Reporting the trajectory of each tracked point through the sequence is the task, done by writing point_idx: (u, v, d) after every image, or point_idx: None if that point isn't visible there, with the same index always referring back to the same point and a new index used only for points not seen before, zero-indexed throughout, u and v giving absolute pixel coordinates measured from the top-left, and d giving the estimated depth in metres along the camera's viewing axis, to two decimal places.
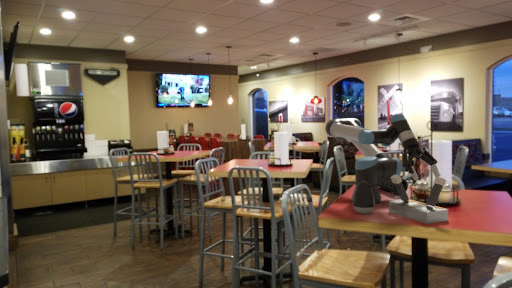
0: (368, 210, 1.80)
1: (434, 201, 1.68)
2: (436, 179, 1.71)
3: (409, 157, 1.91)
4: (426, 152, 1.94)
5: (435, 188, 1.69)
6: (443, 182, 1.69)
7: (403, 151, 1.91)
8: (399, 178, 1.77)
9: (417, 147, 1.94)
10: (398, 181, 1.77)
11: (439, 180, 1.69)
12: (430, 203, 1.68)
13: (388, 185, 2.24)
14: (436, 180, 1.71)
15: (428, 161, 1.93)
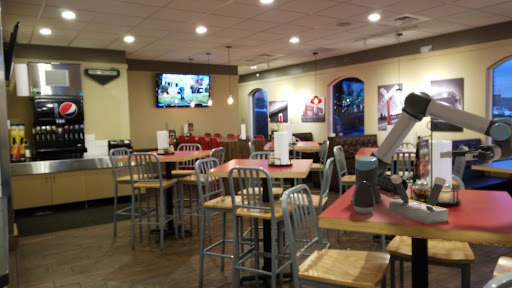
0: (368, 210, 1.80)
1: (434, 201, 1.68)
2: (436, 179, 1.71)
3: None
4: None
5: (435, 188, 1.69)
6: (443, 182, 1.69)
7: (491, 155, 1.72)
8: (399, 178, 1.77)
9: None
10: (398, 181, 1.77)
11: (439, 180, 1.69)
12: (430, 203, 1.68)
13: (388, 185, 2.24)
14: (436, 180, 1.71)
15: (457, 154, 1.81)
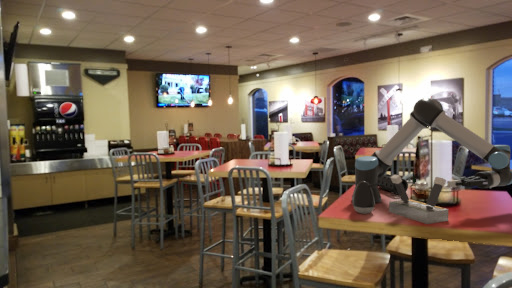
0: (368, 210, 1.80)
1: (434, 201, 1.68)
2: (436, 179, 1.71)
3: None
4: None
5: (435, 188, 1.69)
6: (443, 182, 1.69)
7: (484, 183, 1.72)
8: (399, 178, 1.77)
9: None
10: (398, 181, 1.77)
11: (439, 180, 1.69)
12: (430, 203, 1.68)
13: (388, 185, 2.24)
14: (436, 180, 1.71)
15: None
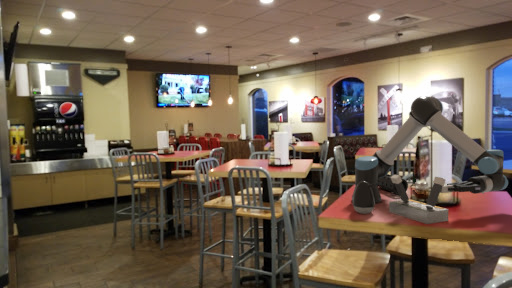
0: (368, 210, 1.80)
1: (434, 201, 1.68)
2: (435, 179, 1.71)
3: None
4: None
5: (435, 188, 1.69)
6: (442, 182, 1.69)
7: (477, 189, 1.70)
8: (399, 178, 1.77)
9: None
10: (398, 181, 1.77)
11: (438, 180, 1.69)
12: (430, 203, 1.68)
13: (388, 185, 2.24)
14: (435, 180, 1.70)
15: None
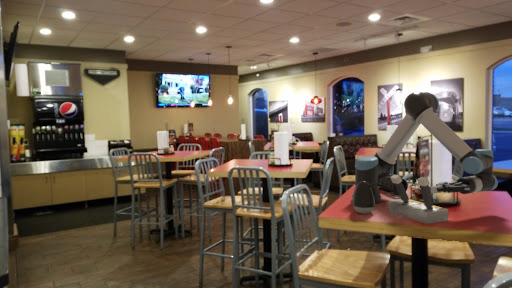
0: (368, 210, 1.80)
1: (430, 201, 1.67)
2: (419, 181, 1.67)
3: None
4: None
5: (423, 190, 1.67)
6: (427, 181, 1.65)
7: (466, 189, 1.68)
8: (399, 178, 1.77)
9: None
10: (398, 181, 1.77)
11: (422, 182, 1.66)
12: (428, 205, 1.68)
13: (388, 185, 2.24)
14: (419, 182, 1.67)
15: None
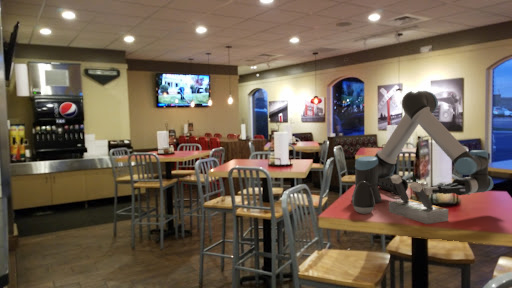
0: (368, 210, 1.80)
1: (428, 203, 1.67)
2: (412, 187, 1.66)
3: None
4: None
5: (419, 194, 1.66)
6: (419, 187, 1.64)
7: (462, 190, 1.67)
8: (399, 178, 1.77)
9: None
10: (398, 181, 1.77)
11: (415, 189, 1.64)
12: (427, 206, 1.68)
13: (388, 185, 2.24)
14: (413, 188, 1.66)
15: None
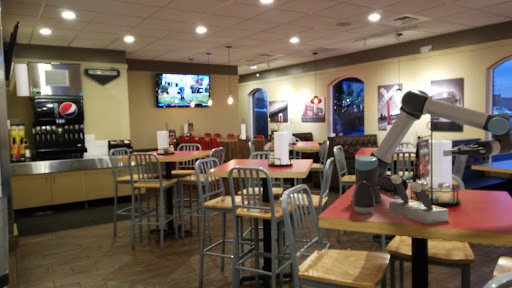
0: (368, 210, 1.80)
1: (428, 203, 1.67)
2: (412, 188, 1.66)
3: None
4: None
5: (419, 194, 1.66)
6: (419, 187, 1.64)
7: (482, 152, 1.73)
8: (399, 178, 1.77)
9: None
10: (398, 181, 1.77)
11: (415, 189, 1.64)
12: (427, 206, 1.68)
13: (388, 185, 2.24)
14: (413, 188, 1.66)
15: None
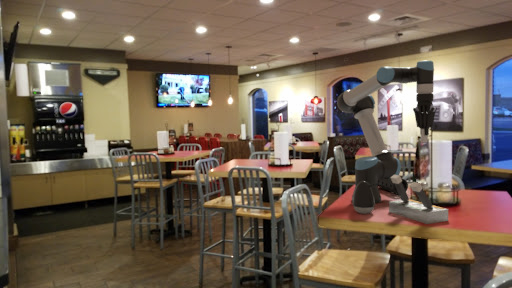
0: (368, 210, 1.80)
1: (428, 203, 1.67)
2: (412, 188, 1.66)
3: (427, 115, 1.87)
4: None
5: (419, 194, 1.66)
6: (419, 187, 1.64)
7: (434, 110, 1.83)
8: (399, 178, 1.77)
9: None
10: (398, 181, 1.77)
11: (415, 189, 1.64)
12: (427, 206, 1.68)
13: (388, 185, 2.24)
14: (413, 188, 1.66)
15: (423, 122, 1.89)
